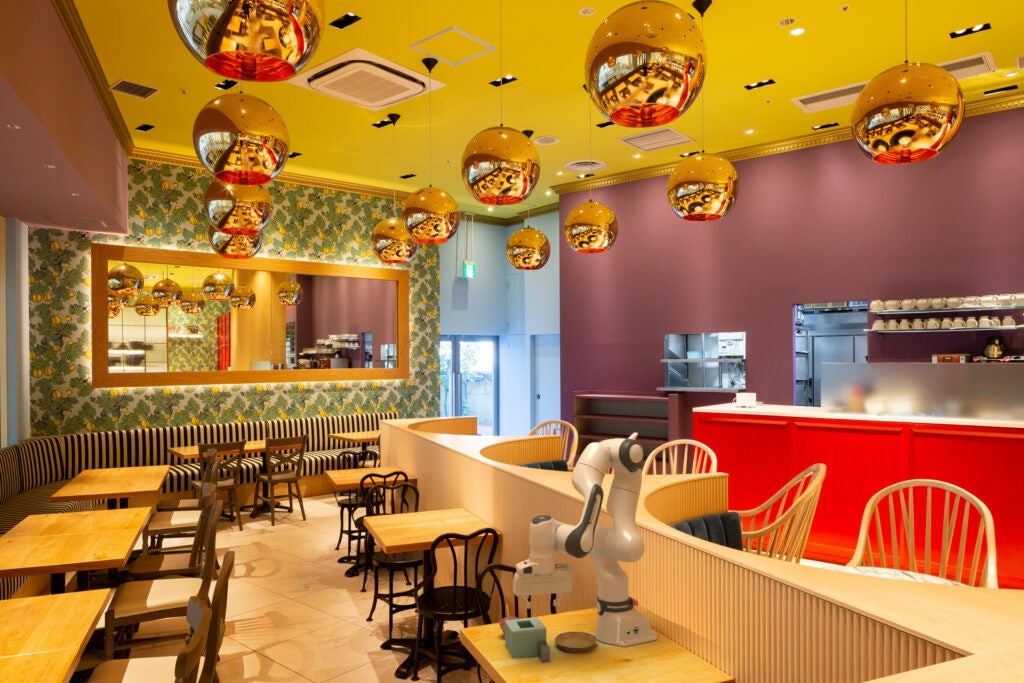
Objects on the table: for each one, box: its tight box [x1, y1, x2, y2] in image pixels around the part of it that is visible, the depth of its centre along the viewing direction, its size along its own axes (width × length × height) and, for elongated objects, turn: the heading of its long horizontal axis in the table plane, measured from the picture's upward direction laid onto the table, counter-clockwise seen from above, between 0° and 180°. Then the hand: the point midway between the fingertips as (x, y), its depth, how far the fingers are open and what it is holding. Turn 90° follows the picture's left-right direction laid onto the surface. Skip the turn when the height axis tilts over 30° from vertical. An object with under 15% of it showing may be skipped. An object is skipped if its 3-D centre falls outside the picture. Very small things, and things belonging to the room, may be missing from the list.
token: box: [537, 640, 551, 664], centre depth 225 cm, size 3×5×5 cm, turn 13°
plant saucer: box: [554, 630, 598, 653], centre depth 236 cm, size 15×15×3 cm
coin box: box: [504, 616, 548, 659], centre depth 233 cm, size 12×11×9 cm
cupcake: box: [498, 602, 520, 638], centre depth 245 cm, size 9×8×12 cm
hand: (542, 607), depth 226 cm, fingers open, 8 cm apart
